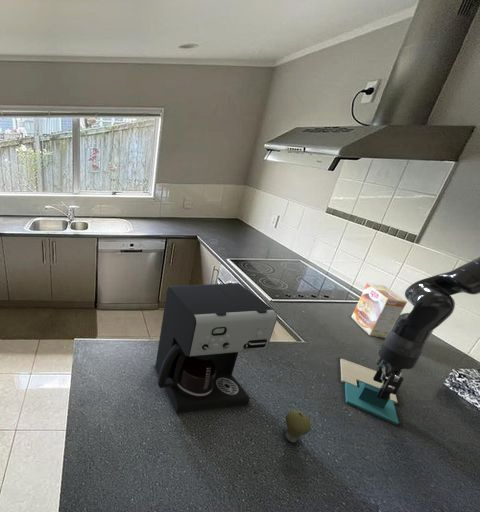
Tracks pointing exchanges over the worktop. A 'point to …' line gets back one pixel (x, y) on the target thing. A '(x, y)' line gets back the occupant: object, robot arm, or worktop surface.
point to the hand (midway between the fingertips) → (379, 389)
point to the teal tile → (368, 406)
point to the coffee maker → (209, 343)
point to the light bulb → (296, 425)
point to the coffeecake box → (378, 310)
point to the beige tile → (360, 376)
